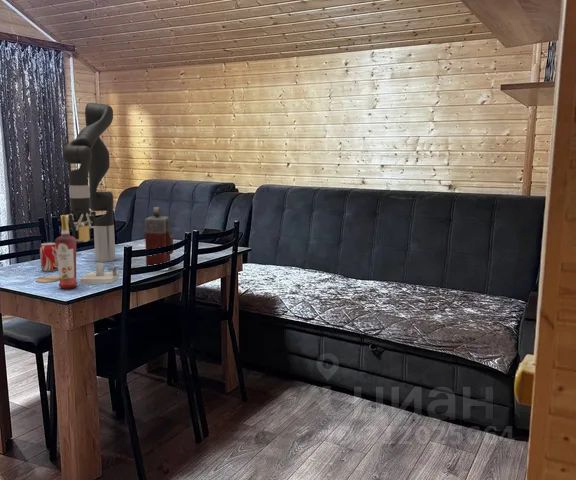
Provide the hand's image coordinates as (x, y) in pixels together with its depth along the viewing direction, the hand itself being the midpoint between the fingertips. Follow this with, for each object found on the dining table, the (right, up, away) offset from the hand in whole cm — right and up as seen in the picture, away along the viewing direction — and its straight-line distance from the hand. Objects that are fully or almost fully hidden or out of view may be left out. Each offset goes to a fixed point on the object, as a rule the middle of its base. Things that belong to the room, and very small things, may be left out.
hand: (82, 238), depth 209 cm
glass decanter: (+26, -14, +25) cm, 39 cm away
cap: (0, -1, 0) cm, 1 cm away
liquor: (-2, -19, -9) cm, 21 cm away
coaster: (-15, -17, +2) cm, 23 cm away
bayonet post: (+6, -17, +3) cm, 18 cm away
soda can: (-22, -14, +20) cm, 33 cm away
